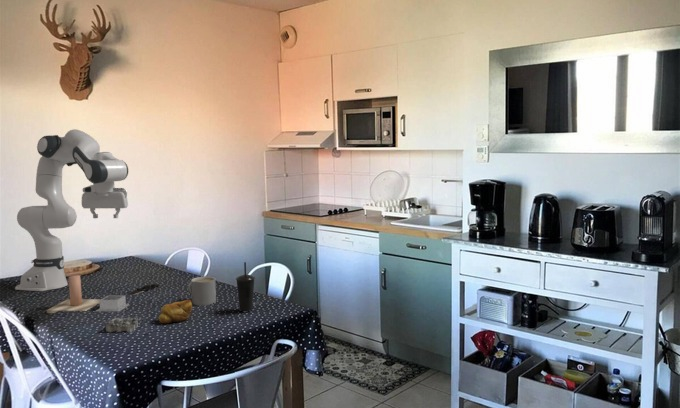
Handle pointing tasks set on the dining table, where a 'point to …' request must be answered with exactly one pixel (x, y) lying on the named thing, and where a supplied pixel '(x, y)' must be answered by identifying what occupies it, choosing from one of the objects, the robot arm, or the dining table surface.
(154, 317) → the dining table surface
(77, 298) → the dowel
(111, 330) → the egg carton
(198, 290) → the coffee mug
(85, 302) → the board
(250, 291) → the drinking cup
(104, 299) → the holder
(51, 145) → the robot arm
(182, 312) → the bread roll
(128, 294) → the knife
